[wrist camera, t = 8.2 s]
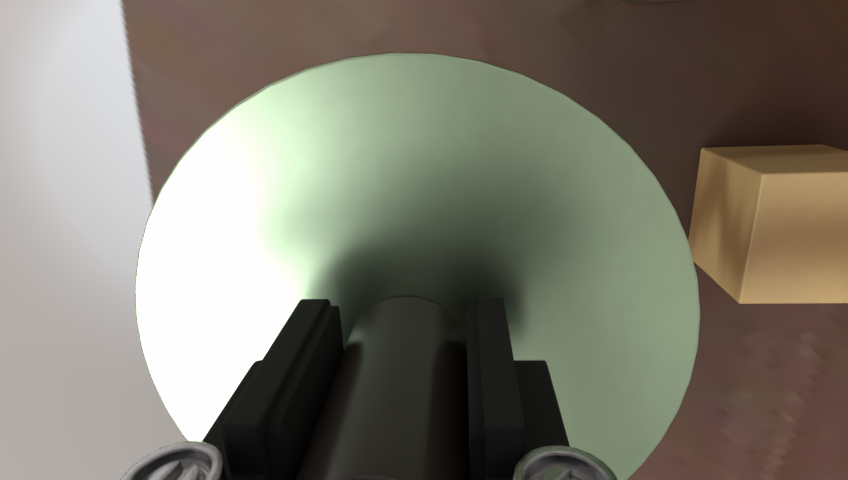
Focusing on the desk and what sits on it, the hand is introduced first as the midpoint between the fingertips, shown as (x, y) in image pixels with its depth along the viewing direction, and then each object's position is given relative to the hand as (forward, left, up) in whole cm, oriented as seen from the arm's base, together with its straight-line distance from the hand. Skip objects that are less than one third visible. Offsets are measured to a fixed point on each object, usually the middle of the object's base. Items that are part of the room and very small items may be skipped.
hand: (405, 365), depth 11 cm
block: (+1, +14, -14) cm, 20 cm away
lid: (0, 0, -1) cm, 1 cm away
